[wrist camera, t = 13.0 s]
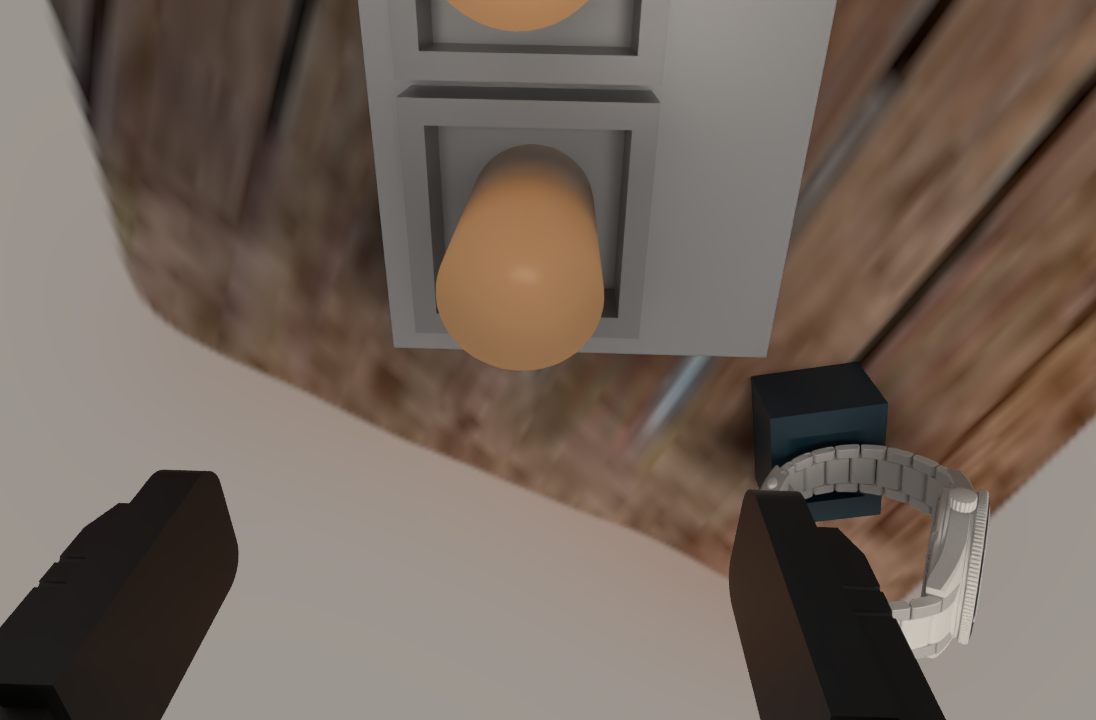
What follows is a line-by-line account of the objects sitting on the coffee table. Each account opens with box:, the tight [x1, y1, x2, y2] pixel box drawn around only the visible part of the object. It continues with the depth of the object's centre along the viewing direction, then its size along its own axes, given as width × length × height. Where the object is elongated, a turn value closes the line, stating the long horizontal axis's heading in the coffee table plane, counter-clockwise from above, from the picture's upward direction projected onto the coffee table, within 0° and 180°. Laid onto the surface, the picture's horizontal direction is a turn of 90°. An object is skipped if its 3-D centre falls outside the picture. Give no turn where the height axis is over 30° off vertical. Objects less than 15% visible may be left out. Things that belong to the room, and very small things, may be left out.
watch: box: [751, 362, 990, 659], centre depth 25 cm, size 6×8×11 cm
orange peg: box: [436, 144, 604, 371], centre depth 22 cm, size 4×4×8 cm
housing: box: [358, 0, 837, 357], centre depth 20 cm, size 19×15×9 cm
